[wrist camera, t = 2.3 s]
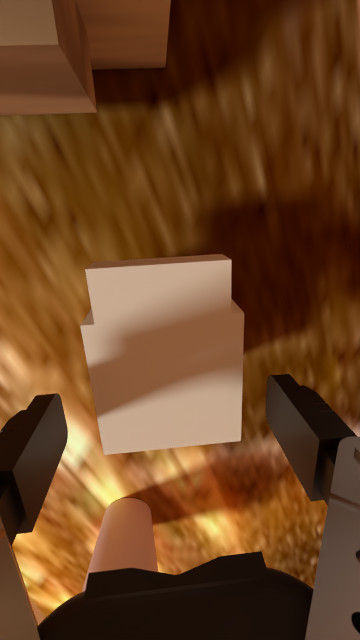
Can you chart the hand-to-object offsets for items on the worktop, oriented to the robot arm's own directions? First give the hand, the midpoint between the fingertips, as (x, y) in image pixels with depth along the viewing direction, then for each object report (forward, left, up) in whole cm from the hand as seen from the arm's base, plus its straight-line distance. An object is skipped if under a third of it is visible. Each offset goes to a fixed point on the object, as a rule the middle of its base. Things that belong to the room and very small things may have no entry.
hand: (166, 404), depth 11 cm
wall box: (0, 0, -8) cm, 8 cm away
